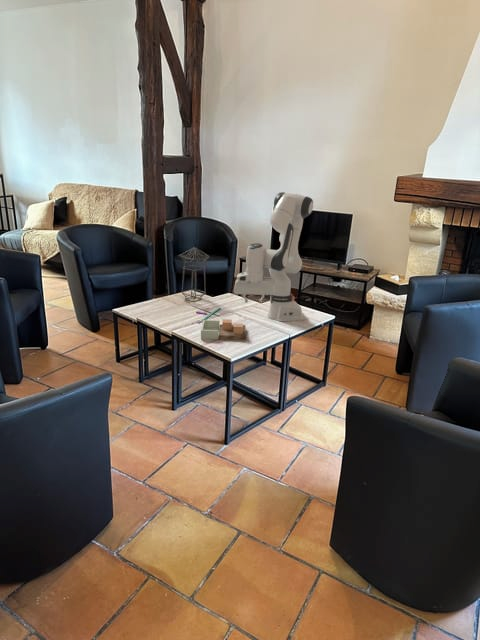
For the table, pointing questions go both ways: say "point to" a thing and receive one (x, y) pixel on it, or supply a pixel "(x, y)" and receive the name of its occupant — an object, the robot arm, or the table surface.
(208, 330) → the tray
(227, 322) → the light brown wooden block
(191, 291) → the geometric lantern
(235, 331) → the tile
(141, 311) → the table surface
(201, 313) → the squeegee
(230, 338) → the brown wooden board
